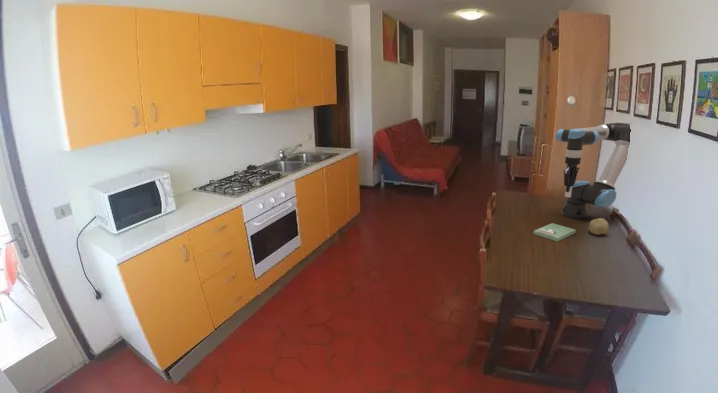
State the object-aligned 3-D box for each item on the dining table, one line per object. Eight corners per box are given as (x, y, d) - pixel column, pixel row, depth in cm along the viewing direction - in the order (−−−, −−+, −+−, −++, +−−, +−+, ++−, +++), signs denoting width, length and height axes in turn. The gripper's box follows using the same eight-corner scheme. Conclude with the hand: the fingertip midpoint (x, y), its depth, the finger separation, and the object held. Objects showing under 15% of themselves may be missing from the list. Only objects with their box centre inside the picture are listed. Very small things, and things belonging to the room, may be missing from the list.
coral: (617, 225, 203) (602, 219, 201) (606, 240, 206) (591, 234, 205) (606, 218, 211) (592, 212, 210) (596, 232, 215) (581, 226, 214)
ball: (548, 233, 212) (549, 227, 210) (554, 235, 209) (555, 229, 208) (545, 235, 210) (545, 230, 209) (551, 237, 207) (551, 231, 206)
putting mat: (551, 226, 223) (552, 219, 222) (575, 232, 212) (576, 226, 210) (533, 234, 212) (534, 227, 211) (557, 241, 201) (558, 234, 200)
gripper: (572, 154, 211) (566, 193, 218) (560, 157, 204) (555, 197, 211) (585, 156, 205) (580, 196, 212) (574, 159, 198) (568, 200, 205)
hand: (567, 196), depth 211 cm, fingers closed
